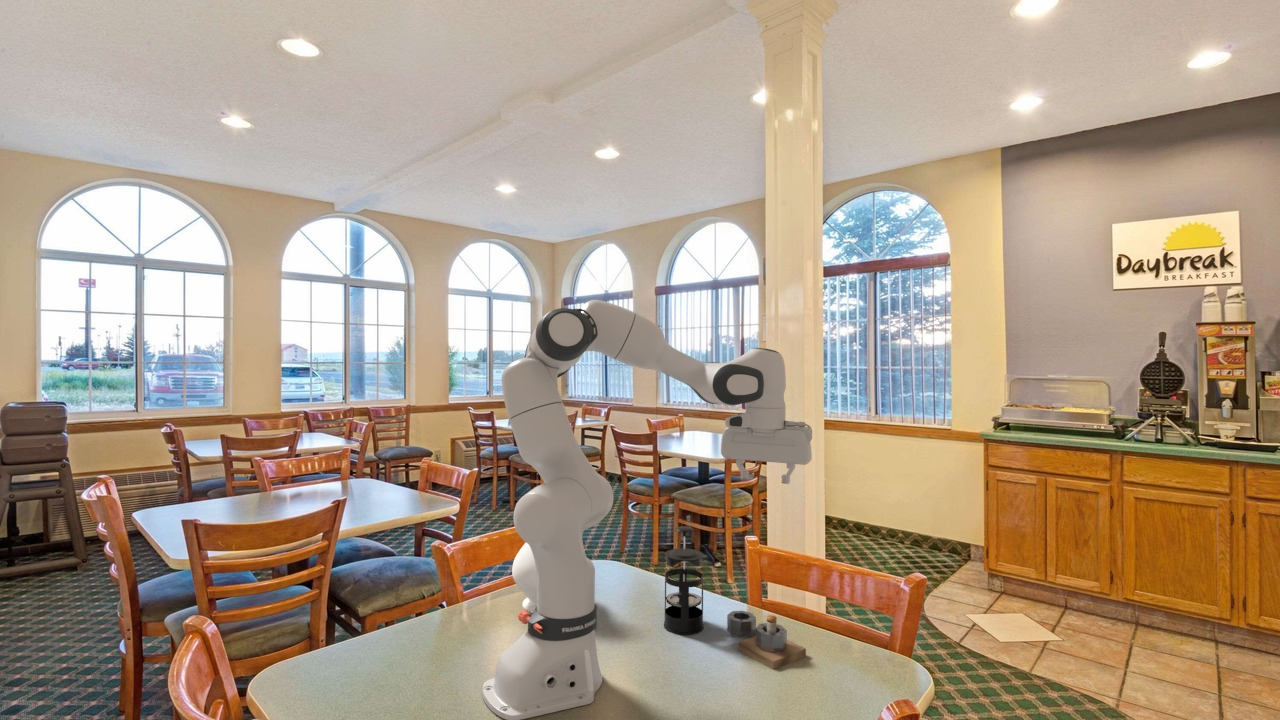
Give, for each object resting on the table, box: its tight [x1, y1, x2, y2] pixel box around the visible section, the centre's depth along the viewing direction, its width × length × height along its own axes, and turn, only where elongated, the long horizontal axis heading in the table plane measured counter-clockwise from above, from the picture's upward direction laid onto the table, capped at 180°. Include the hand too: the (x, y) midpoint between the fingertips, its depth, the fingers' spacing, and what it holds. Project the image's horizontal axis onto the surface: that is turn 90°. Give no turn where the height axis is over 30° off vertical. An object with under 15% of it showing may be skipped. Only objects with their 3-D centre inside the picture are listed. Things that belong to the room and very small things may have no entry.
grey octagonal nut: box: [755, 622, 788, 653], centre depth 128 cm, size 6×6×4 cm
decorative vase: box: [511, 542, 537, 614], centre depth 153 cm, size 18×18×25 cm
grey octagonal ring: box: [726, 610, 757, 638], centre depth 138 cm, size 6×6×4 cm
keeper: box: [737, 614, 807, 670], centre depth 128 cm, size 10×10×8 cm
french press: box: [663, 526, 705, 636], centre depth 141 cm, size 12×9×23 cm
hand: (765, 481), depth 135 cm, fingers open, 8 cm apart
